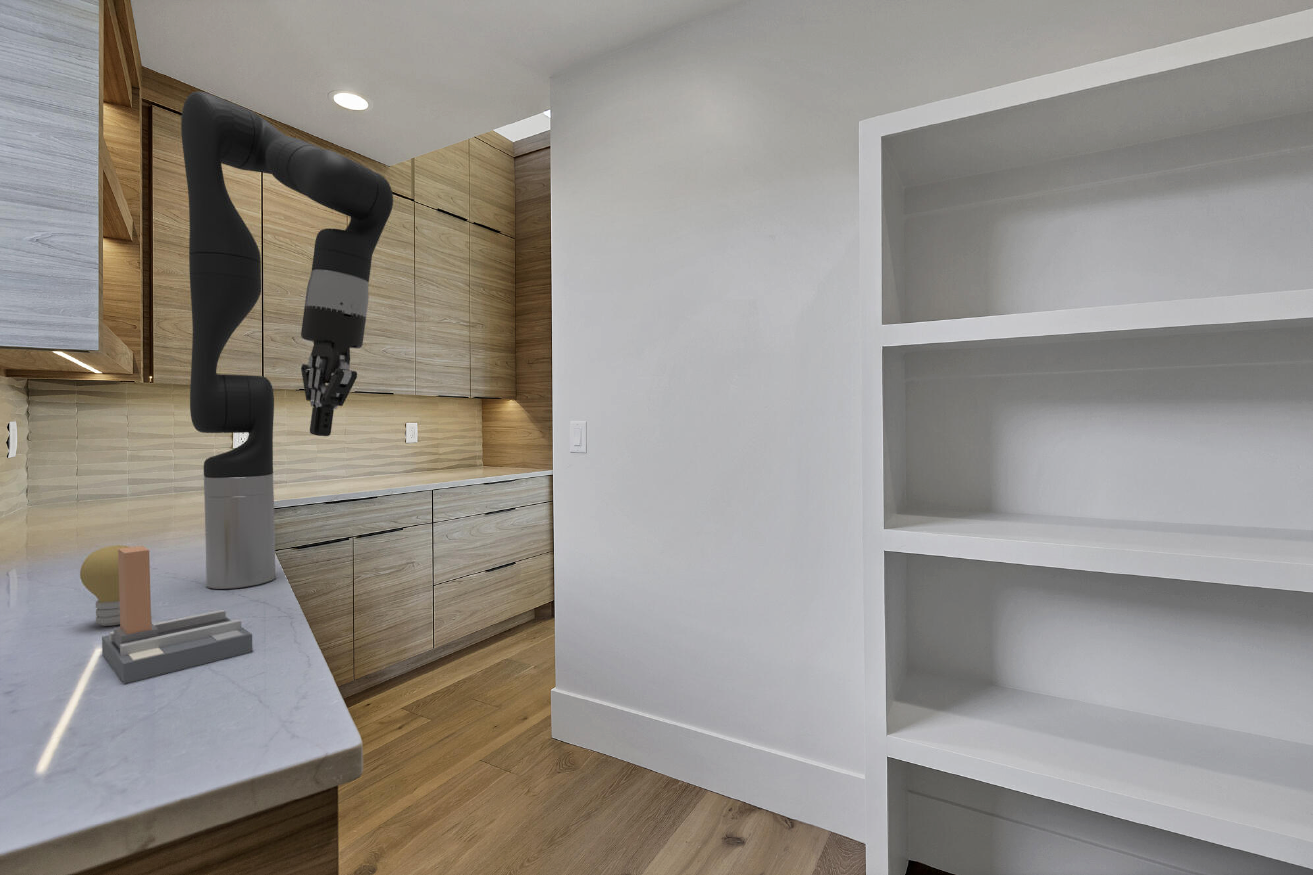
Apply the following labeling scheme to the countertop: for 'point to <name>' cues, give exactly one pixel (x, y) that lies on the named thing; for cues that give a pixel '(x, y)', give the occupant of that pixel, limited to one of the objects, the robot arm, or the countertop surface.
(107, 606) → the light bulb
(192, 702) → the countertop surface
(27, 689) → the countertop surface
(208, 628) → the switch panel
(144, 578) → the lever
